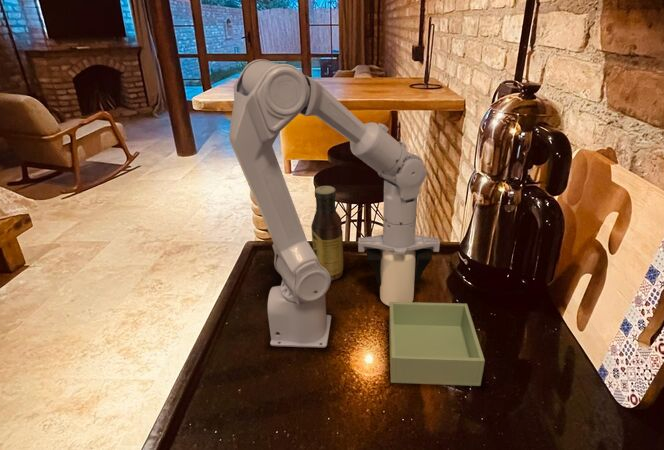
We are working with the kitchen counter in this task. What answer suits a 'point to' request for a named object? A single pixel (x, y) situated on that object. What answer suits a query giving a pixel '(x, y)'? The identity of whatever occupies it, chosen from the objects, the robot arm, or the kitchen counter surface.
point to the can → (397, 276)
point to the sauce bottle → (328, 232)
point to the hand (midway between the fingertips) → (396, 282)
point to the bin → (434, 344)
